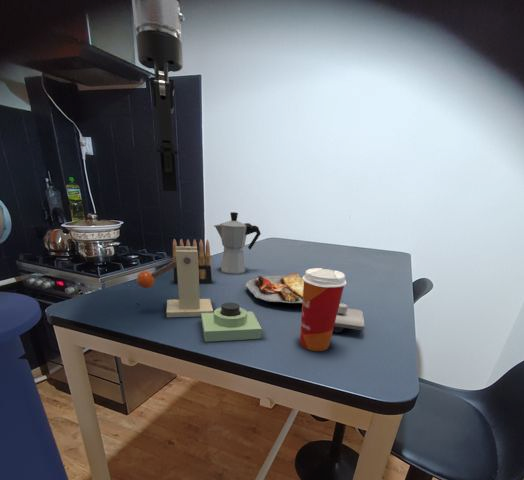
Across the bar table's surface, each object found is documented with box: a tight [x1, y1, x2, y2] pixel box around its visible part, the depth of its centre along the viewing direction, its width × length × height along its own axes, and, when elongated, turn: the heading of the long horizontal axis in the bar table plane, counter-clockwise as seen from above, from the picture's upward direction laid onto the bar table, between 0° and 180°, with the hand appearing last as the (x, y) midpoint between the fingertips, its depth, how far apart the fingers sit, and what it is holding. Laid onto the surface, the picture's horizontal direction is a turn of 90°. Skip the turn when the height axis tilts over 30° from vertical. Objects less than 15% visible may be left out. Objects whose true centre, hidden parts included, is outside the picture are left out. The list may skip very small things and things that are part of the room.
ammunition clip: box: [172, 238, 213, 285], centre depth 89 cm, size 11×2×12 cm, turn 104°
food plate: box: [244, 272, 304, 305], centre depth 86 cm, size 25×23×4 cm
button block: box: [200, 307, 263, 343], centre depth 64 cm, size 11×9×4 cm
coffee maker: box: [213, 211, 262, 275], centre depth 102 cm, size 15×9×18 cm, turn 95°
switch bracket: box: [166, 245, 214, 318], centre depth 70 cm, size 10×8×14 cm
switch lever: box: [136, 248, 190, 289], centre depth 68 cm, size 13×4×4 cm, turn 103°
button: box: [220, 302, 241, 317], centre depth 63 cm, size 4×4×2 cm
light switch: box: [333, 302, 366, 333], centre depth 69 cm, size 10×10×5 cm
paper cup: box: [299, 267, 347, 352], centre depth 58 cm, size 8×8×14 cm
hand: (170, 190), depth 65 cm, fingers closed
